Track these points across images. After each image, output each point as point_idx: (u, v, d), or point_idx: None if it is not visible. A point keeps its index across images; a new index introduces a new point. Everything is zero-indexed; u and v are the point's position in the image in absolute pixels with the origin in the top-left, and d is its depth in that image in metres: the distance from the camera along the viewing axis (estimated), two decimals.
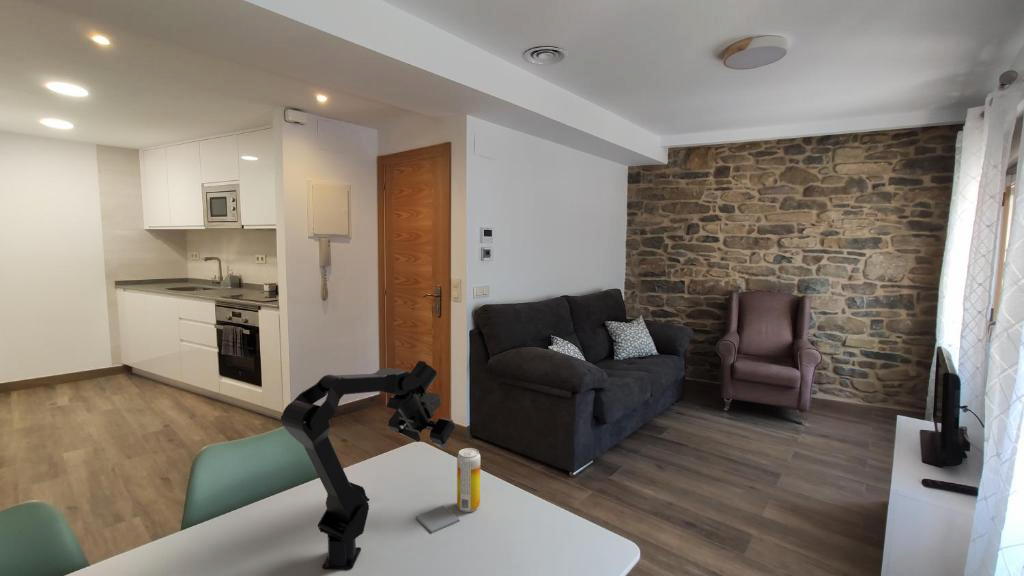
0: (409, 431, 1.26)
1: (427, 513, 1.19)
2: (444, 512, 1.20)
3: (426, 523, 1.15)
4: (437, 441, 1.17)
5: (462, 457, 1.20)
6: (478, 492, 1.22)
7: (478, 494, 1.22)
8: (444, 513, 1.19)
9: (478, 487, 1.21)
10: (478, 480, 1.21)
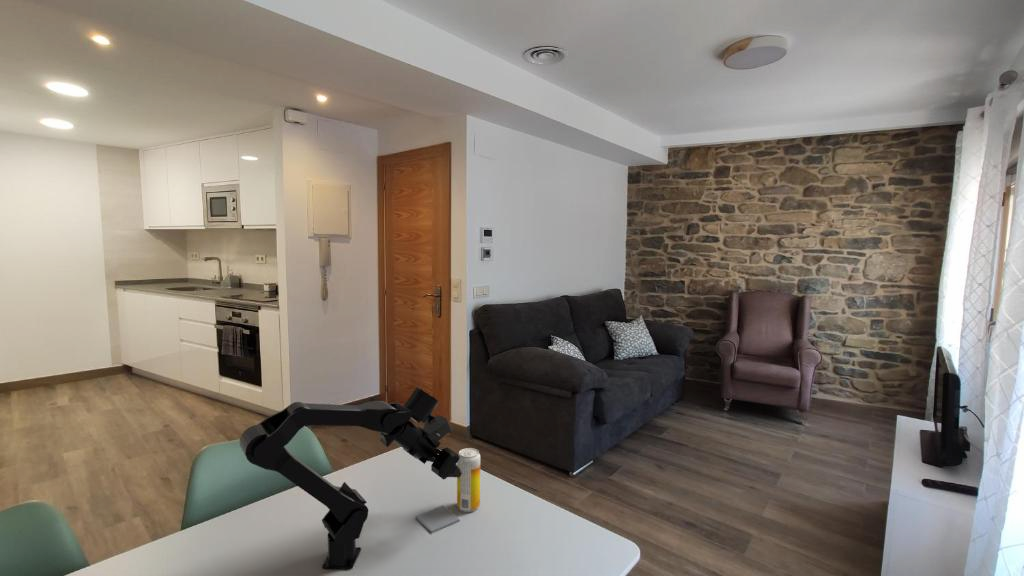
0: None
1: (427, 513, 1.19)
2: (444, 512, 1.20)
3: (426, 523, 1.15)
4: None
5: (462, 457, 1.20)
6: (478, 492, 1.22)
7: (478, 494, 1.22)
8: (444, 513, 1.19)
9: (478, 487, 1.21)
10: (478, 480, 1.21)
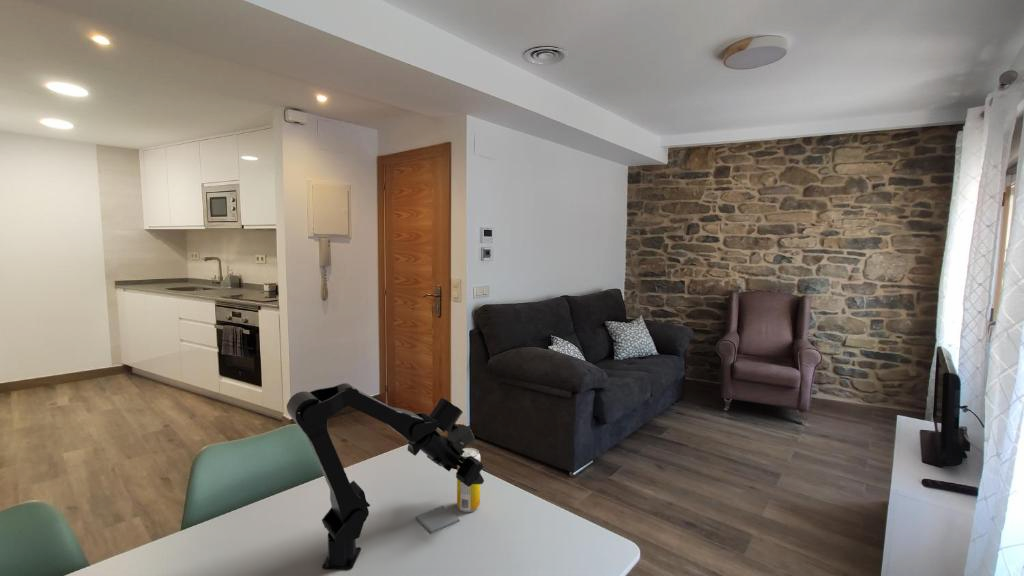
0: None
1: (427, 513, 1.19)
2: (444, 512, 1.20)
3: (426, 523, 1.15)
4: None
5: None
6: (478, 492, 1.22)
7: (478, 494, 1.22)
8: (444, 513, 1.19)
9: (478, 487, 1.21)
10: None
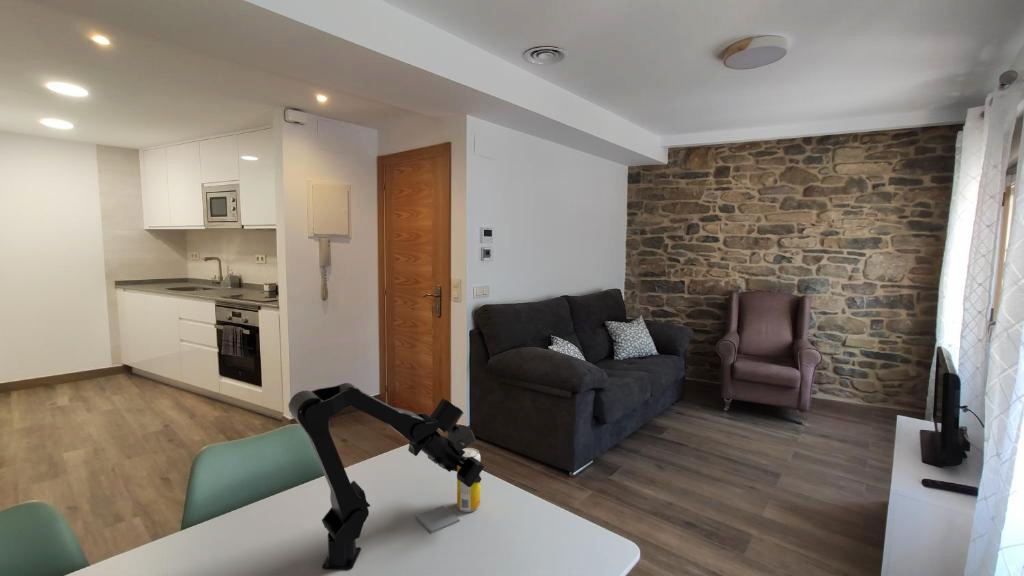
0: None
1: (427, 513, 1.19)
2: (444, 512, 1.20)
3: (426, 523, 1.15)
4: (464, 483, 1.12)
5: None
6: (478, 492, 1.22)
7: (478, 494, 1.22)
8: (444, 513, 1.19)
9: (478, 487, 1.21)
10: None
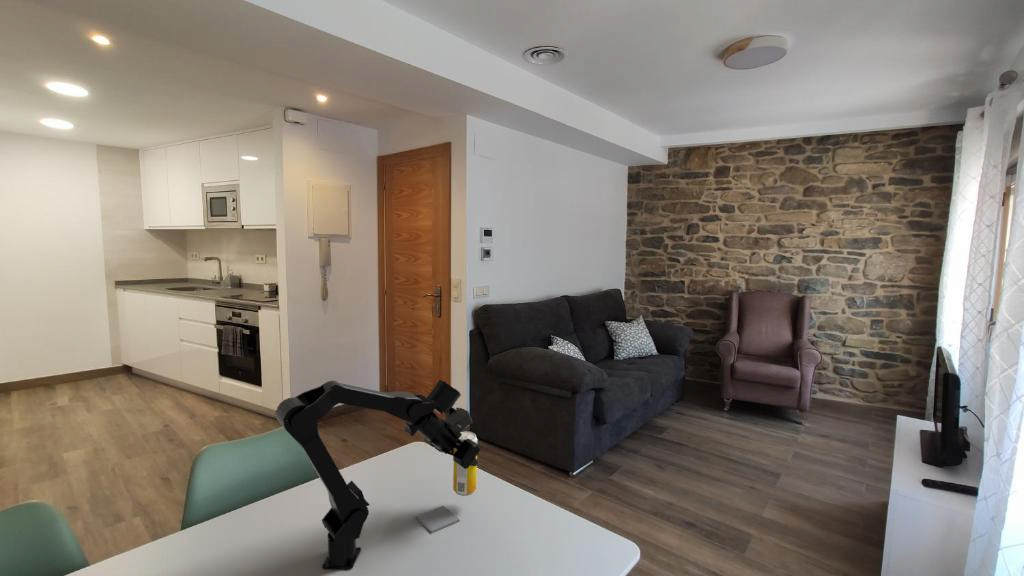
0: None
1: (427, 513, 1.19)
2: (444, 512, 1.20)
3: (426, 523, 1.15)
4: (460, 465, 1.11)
5: None
6: (475, 476, 1.20)
7: (475, 478, 1.21)
8: (444, 513, 1.19)
9: (475, 471, 1.20)
10: None
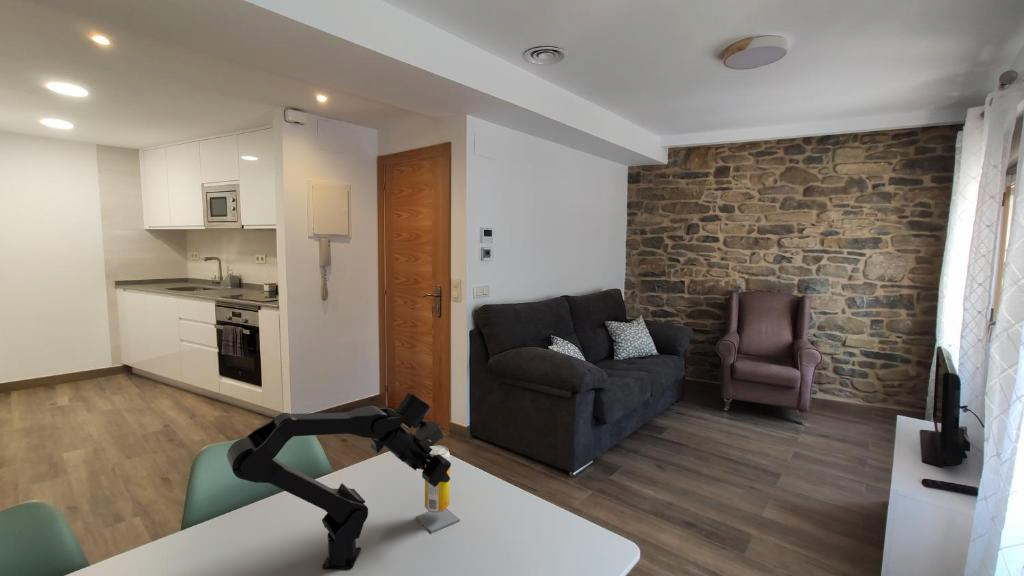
0: None
1: (427, 513, 1.19)
2: (444, 512, 1.20)
3: (426, 523, 1.15)
4: None
5: (430, 455, 1.13)
6: (447, 492, 1.15)
7: (447, 494, 1.15)
8: (444, 513, 1.19)
9: (447, 487, 1.15)
10: None
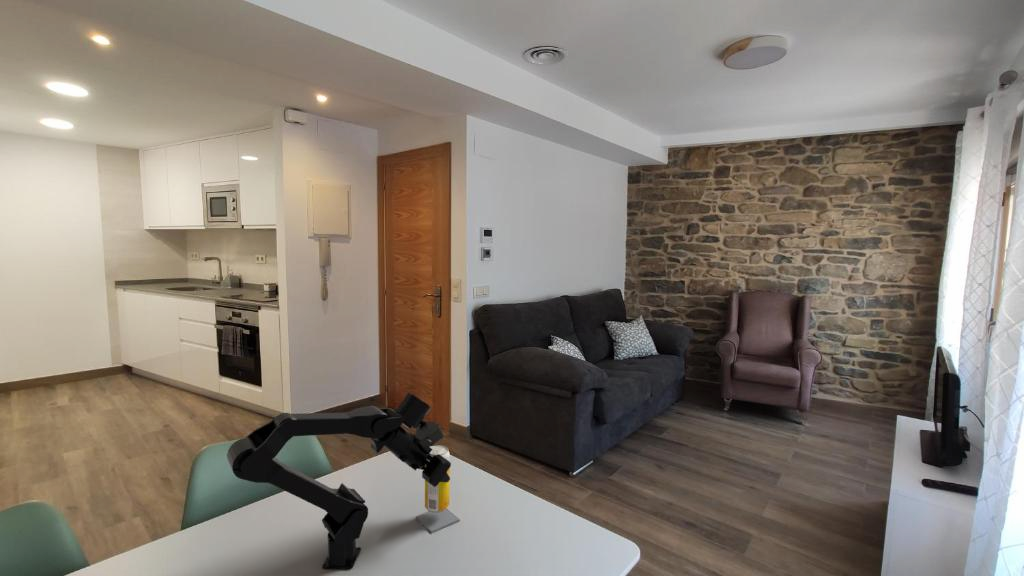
0: None
1: (427, 513, 1.19)
2: (444, 512, 1.20)
3: (426, 523, 1.15)
4: None
5: (430, 455, 1.13)
6: (447, 492, 1.15)
7: (447, 494, 1.15)
8: (444, 513, 1.19)
9: (447, 487, 1.15)
10: None
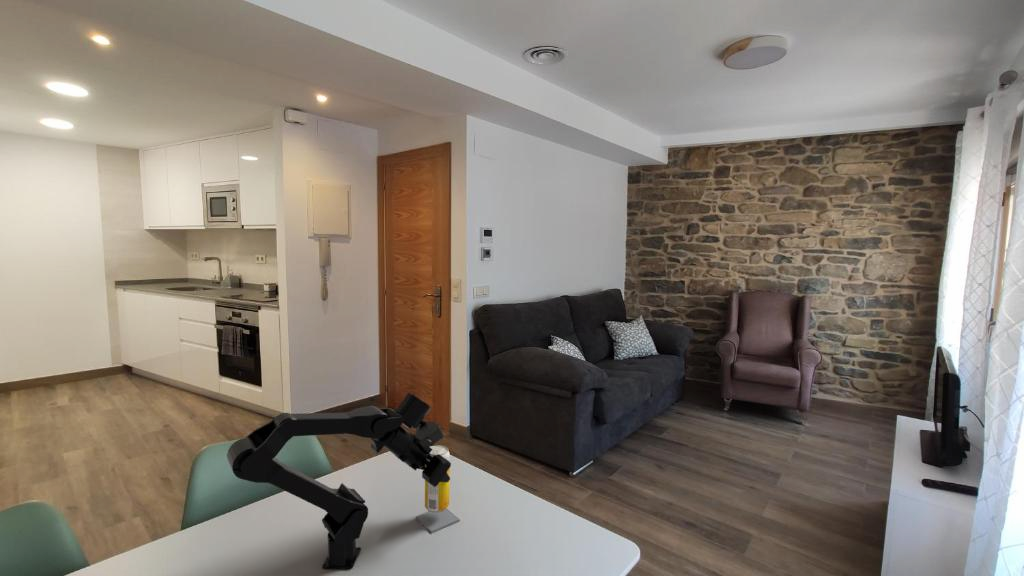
0: None
1: (427, 513, 1.19)
2: (444, 512, 1.20)
3: (426, 523, 1.15)
4: None
5: (430, 455, 1.13)
6: (447, 492, 1.15)
7: (447, 494, 1.15)
8: (444, 513, 1.19)
9: (447, 487, 1.15)
10: None
